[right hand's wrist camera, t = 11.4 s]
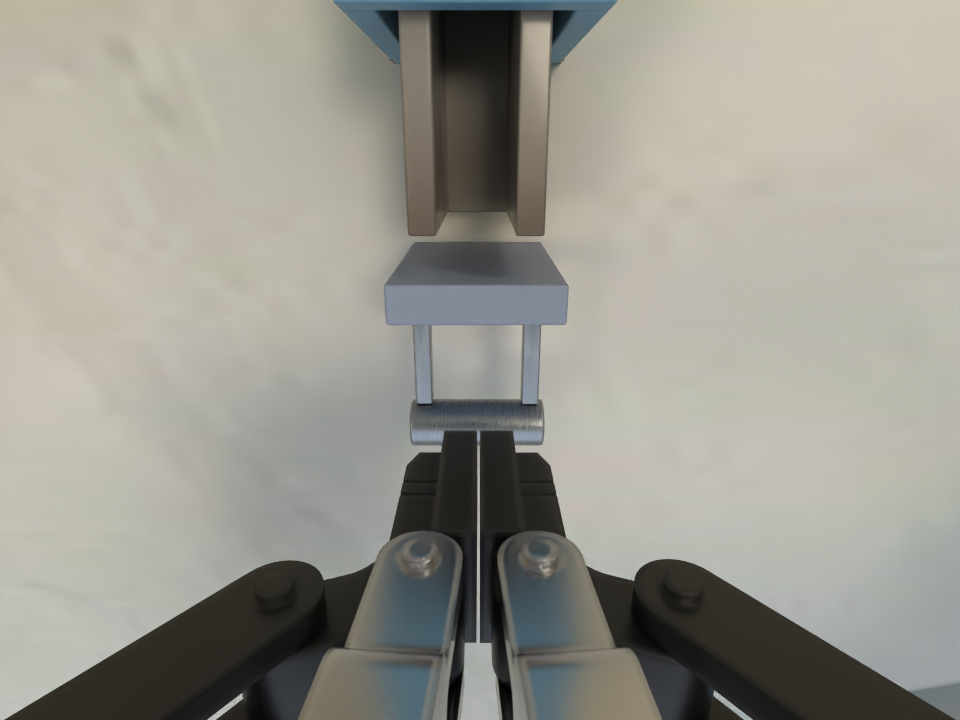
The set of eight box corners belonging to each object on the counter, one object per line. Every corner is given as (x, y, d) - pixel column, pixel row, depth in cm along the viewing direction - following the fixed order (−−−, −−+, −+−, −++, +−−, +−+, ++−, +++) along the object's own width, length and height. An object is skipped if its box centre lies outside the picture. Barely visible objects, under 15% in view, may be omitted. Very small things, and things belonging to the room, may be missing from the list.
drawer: (535, 392, 26) (557, 489, 18) (420, 392, 26) (395, 489, 18) (562, -342, 17) (624, -709, 10) (389, -342, 17) (322, -710, 10)
